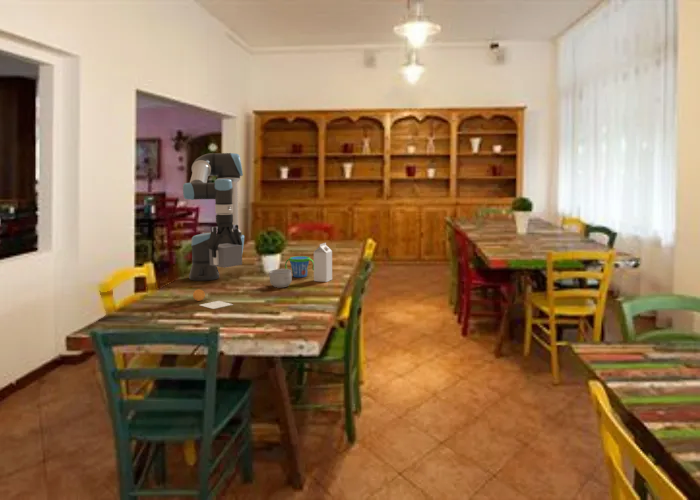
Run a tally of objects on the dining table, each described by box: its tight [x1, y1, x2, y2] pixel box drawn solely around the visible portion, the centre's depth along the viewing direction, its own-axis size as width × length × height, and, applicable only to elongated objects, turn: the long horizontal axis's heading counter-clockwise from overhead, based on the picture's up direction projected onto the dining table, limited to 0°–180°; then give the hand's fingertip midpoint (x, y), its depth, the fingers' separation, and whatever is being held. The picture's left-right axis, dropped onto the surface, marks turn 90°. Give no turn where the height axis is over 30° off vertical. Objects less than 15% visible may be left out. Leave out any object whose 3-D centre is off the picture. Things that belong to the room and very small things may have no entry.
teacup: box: [268, 268, 293, 289], centre depth 282 cm, size 14×11×8 cm
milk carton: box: [313, 242, 333, 283], centre depth 295 cm, size 7×7×19 cm
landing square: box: [199, 300, 234, 310], centre depth 243 cm, size 10×10×1 cm
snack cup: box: [284, 255, 314, 278], centre depth 306 cm, size 16×10×10 cm
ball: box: [192, 288, 206, 302], centre depth 251 cm, size 5×5×5 cm
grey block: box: [209, 243, 243, 268], centre depth 261 cm, size 10×10×9 cm
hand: (225, 263), depth 262 cm, fingers closed on grey block, 10 cm apart
